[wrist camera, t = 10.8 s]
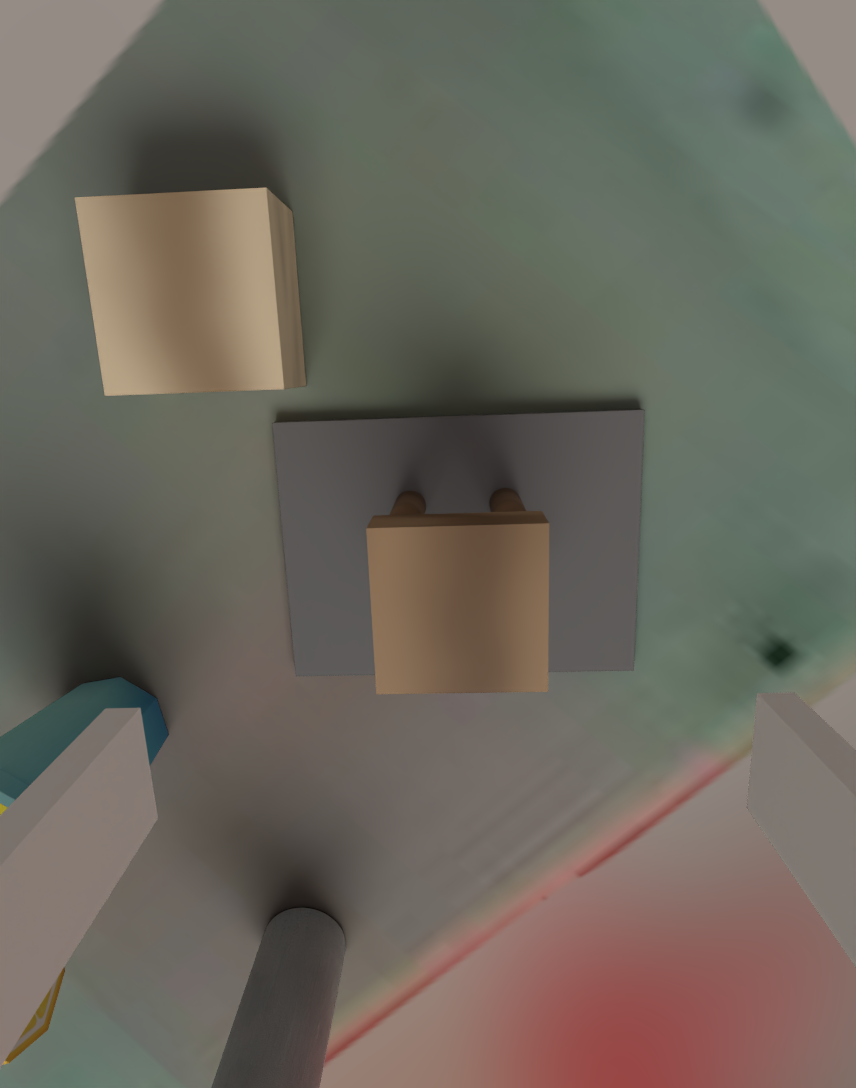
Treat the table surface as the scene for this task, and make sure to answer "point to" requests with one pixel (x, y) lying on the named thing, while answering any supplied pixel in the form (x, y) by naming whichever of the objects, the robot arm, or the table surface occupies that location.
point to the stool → (459, 598)
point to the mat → (463, 487)
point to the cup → (37, 742)
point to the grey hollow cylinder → (286, 1005)
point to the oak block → (193, 291)
